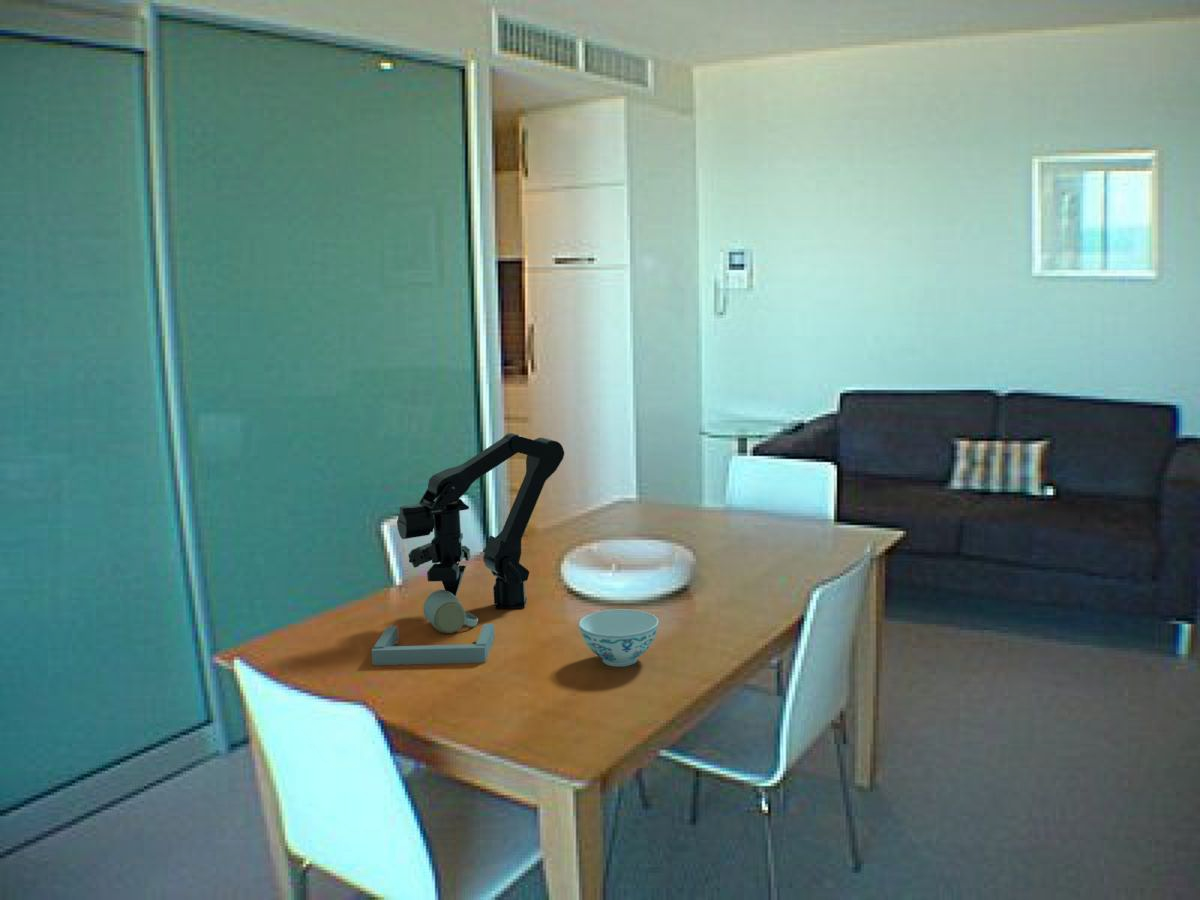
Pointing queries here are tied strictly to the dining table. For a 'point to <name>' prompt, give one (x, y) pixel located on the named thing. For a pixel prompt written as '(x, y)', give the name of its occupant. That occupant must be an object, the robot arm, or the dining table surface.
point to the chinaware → (619, 634)
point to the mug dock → (431, 650)
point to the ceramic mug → (447, 612)
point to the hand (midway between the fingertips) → (451, 601)
